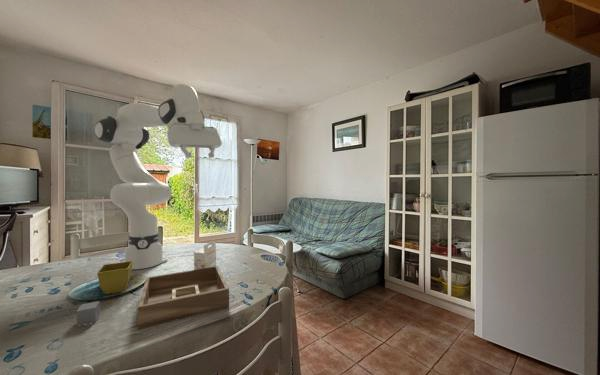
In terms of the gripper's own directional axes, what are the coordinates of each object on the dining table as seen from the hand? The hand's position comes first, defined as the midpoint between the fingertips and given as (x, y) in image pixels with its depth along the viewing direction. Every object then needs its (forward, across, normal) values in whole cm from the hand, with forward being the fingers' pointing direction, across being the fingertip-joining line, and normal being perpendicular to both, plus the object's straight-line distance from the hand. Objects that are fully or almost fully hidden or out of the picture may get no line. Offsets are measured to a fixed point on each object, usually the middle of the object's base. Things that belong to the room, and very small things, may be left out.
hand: (200, 157), depth 92 cm
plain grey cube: (+44, +38, -14) cm, 60 cm away
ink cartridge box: (+47, +1, -17) cm, 50 cm away
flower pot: (+40, +27, -30) cm, 57 cm away
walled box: (+49, +15, -5) cm, 51 cm away
